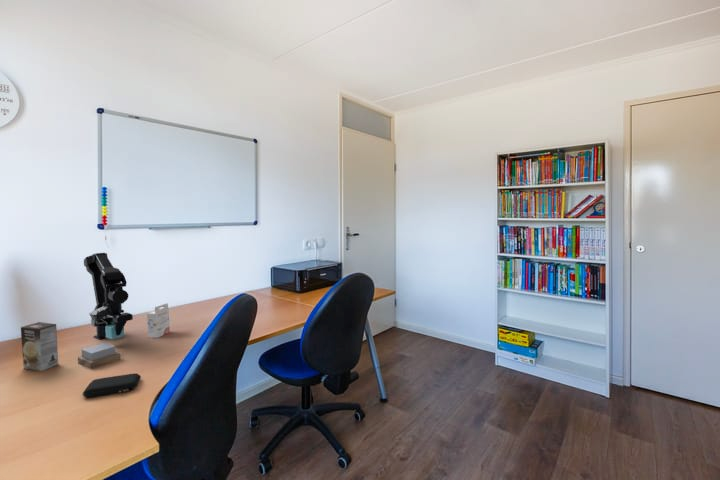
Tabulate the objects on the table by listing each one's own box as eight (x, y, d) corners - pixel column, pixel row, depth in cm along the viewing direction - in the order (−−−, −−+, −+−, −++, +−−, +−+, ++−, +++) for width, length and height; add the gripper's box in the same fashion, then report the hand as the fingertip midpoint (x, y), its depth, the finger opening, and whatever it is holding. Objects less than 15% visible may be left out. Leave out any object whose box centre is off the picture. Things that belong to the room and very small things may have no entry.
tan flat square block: (78, 364, 132) (77, 357, 132) (107, 355, 141) (106, 348, 141) (91, 370, 127) (90, 362, 127) (120, 360, 136) (120, 353, 136)
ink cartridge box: (161, 331, 169) (160, 302, 168) (170, 332, 168) (169, 302, 167) (147, 337, 160) (146, 306, 159) (156, 338, 159) (155, 307, 158)
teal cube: (105, 337, 150) (105, 326, 149) (118, 333, 154) (117, 323, 154) (111, 339, 147) (111, 328, 147) (124, 335, 152) (123, 324, 151)
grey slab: (81, 356, 133) (81, 349, 132) (105, 349, 140) (105, 342, 139) (91, 361, 129) (91, 353, 128) (115, 353, 136) (115, 346, 135)
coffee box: (22, 368, 127) (19, 327, 126) (41, 361, 134) (38, 321, 132) (41, 371, 125) (38, 328, 124) (59, 363, 132) (57, 323, 131)
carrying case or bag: (79, 403, 105) (135, 393, 111) (78, 393, 105) (135, 384, 111) (91, 387, 115) (142, 379, 121) (90, 378, 115) (141, 370, 120)
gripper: (80, 300, 147) (83, 336, 148) (103, 306, 138) (105, 344, 139) (109, 295, 157) (111, 328, 158) (132, 300, 148) (134, 335, 149)
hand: (115, 334), depth 151 cm, fingers closed on teal cube, 5 cm apart
